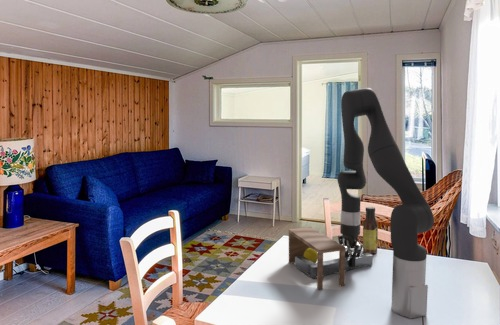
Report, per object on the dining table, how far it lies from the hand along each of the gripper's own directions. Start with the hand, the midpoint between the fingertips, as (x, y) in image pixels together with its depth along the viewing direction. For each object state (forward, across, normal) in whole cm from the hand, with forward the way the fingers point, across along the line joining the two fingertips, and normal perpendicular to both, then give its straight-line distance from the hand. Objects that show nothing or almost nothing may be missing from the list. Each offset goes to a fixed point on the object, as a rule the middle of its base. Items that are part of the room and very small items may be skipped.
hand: (349, 264), depth 146 cm
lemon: (+2, -6, -14) cm, 16 cm away
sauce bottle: (+1, -13, +19) cm, 23 cm away
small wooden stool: (+2, 0, -15) cm, 15 cm away
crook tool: (+1, -4, -4) cm, 6 cm away
